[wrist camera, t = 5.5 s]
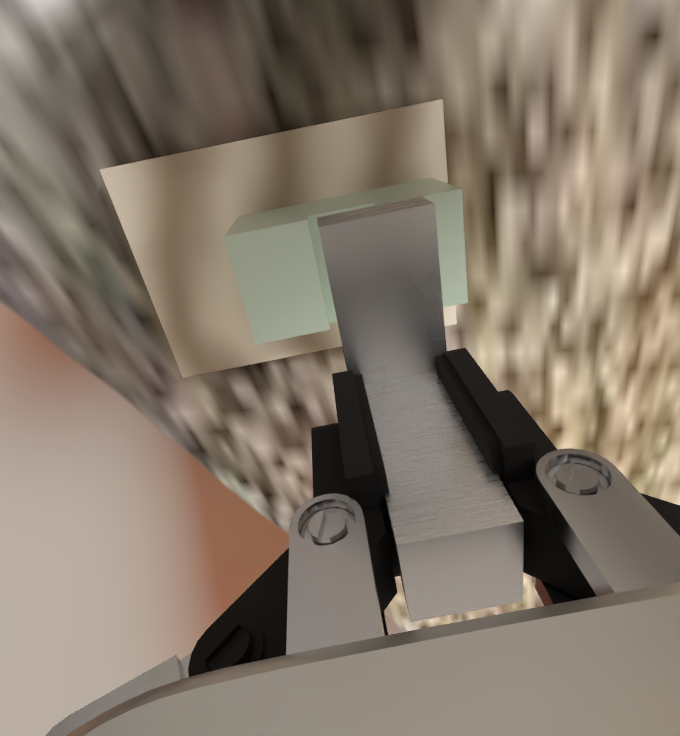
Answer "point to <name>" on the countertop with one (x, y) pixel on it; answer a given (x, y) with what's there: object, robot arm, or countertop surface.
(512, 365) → the countertop surface
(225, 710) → the robot arm
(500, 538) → the t key
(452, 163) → the countertop surface
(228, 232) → the slotted block
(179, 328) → the base plate
